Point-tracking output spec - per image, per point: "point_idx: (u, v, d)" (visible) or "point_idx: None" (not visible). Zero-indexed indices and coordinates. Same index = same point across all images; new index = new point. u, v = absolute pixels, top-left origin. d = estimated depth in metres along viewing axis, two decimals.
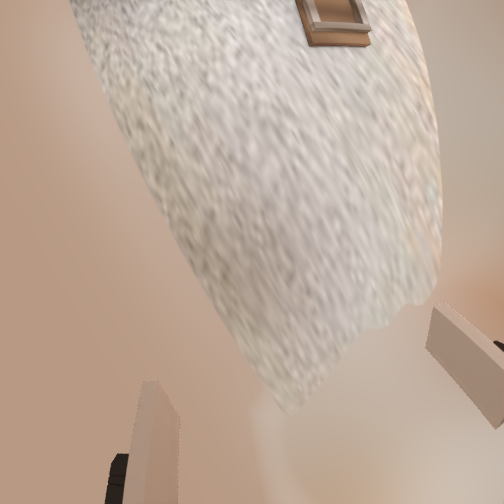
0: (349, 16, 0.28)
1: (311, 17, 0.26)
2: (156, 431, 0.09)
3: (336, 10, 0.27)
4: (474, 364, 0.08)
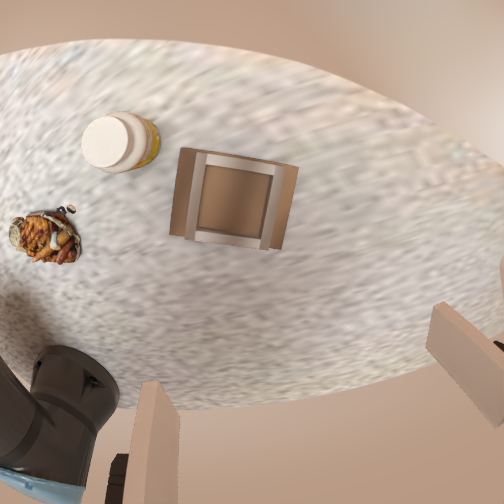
0: (250, 179, 0.28)
1: (252, 247, 0.29)
2: (156, 431, 0.09)
3: (238, 195, 0.29)
4: (474, 364, 0.08)
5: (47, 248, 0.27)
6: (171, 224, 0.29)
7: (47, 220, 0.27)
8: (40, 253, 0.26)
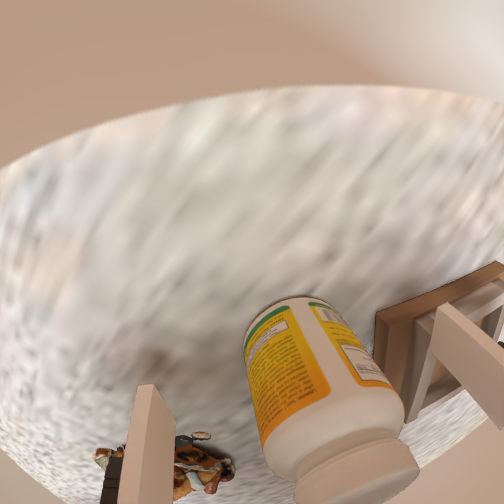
0: None
1: None
2: (151, 435, 0.08)
3: None
4: (478, 365, 0.08)
5: (188, 489, 0.15)
6: None
7: None
8: (178, 495, 0.15)
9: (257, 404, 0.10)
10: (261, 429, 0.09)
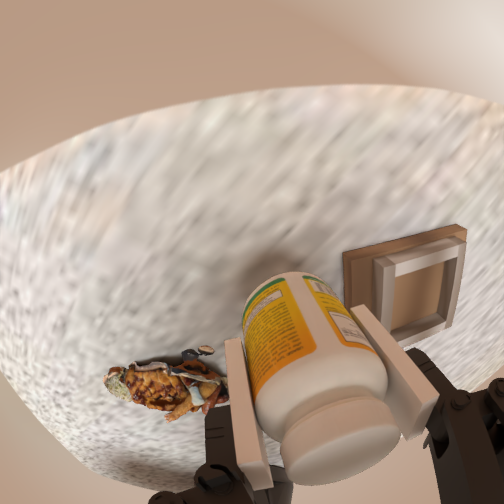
0: None
1: (437, 330, 0.21)
2: (248, 380, 0.11)
3: (418, 285, 0.21)
4: None
5: (188, 406, 0.21)
6: None
7: None
8: (179, 412, 0.21)
9: (251, 364, 0.11)
10: (253, 386, 0.10)
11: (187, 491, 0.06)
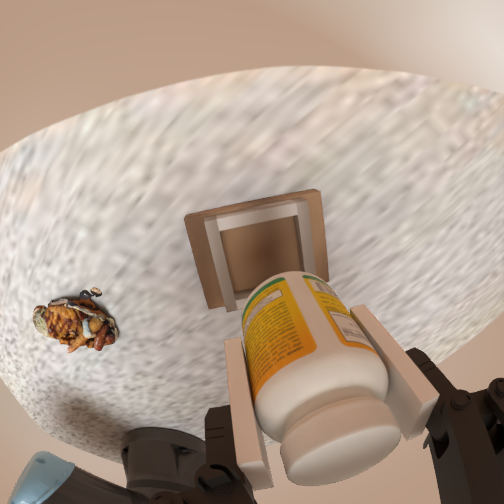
0: (273, 224, 0.25)
1: None
2: (248, 380, 0.11)
3: (266, 246, 0.26)
4: None
5: (81, 338, 0.25)
6: (207, 299, 0.27)
7: (73, 308, 0.26)
8: (75, 344, 0.25)
9: (251, 364, 0.11)
10: (253, 386, 0.10)
11: (187, 491, 0.06)
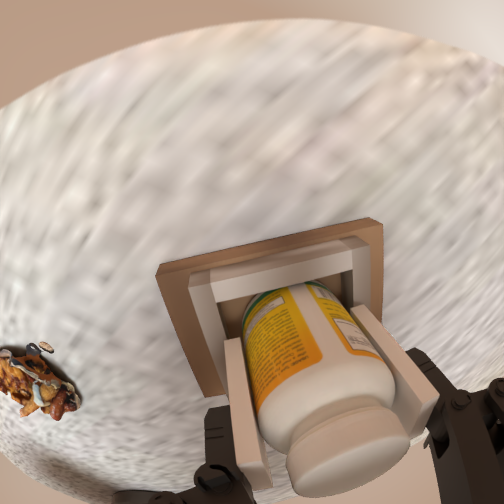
0: None
1: None
2: (248, 380, 0.11)
3: None
4: None
5: (33, 404, 0.15)
6: (201, 386, 0.16)
7: None
8: (26, 409, 0.14)
9: (253, 374, 0.10)
10: (256, 397, 0.09)
11: (186, 491, 0.06)
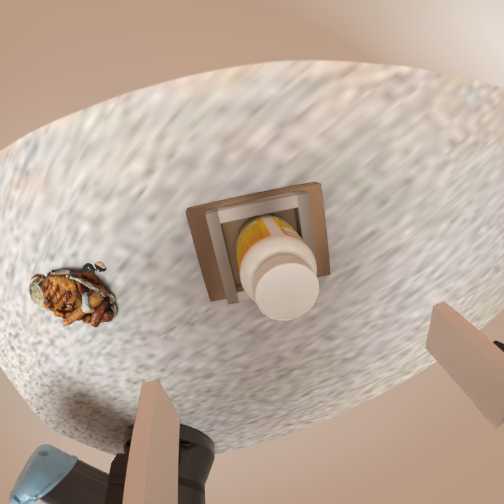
0: None
1: None
2: (156, 431, 0.09)
3: None
4: (474, 364, 0.08)
5: (79, 312, 0.25)
6: (208, 291, 0.27)
7: (74, 280, 0.25)
8: (71, 317, 0.25)
9: (239, 255, 0.21)
10: (239, 263, 0.20)
11: None
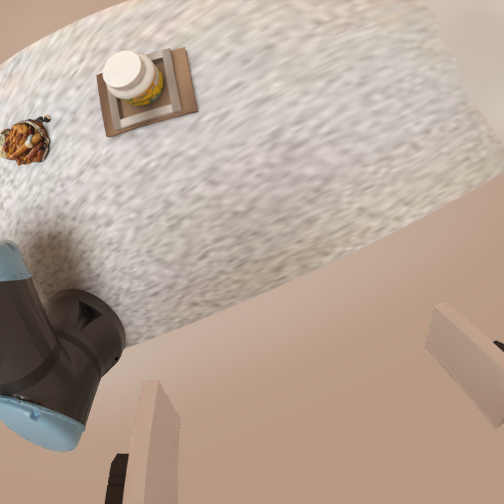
0: None
1: (167, 113, 0.30)
2: (156, 431, 0.09)
3: None
4: (474, 364, 0.08)
5: (22, 146, 0.28)
6: (105, 128, 0.30)
7: (27, 126, 0.28)
8: (16, 150, 0.28)
9: None
10: None
11: None
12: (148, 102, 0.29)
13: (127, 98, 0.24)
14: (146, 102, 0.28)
